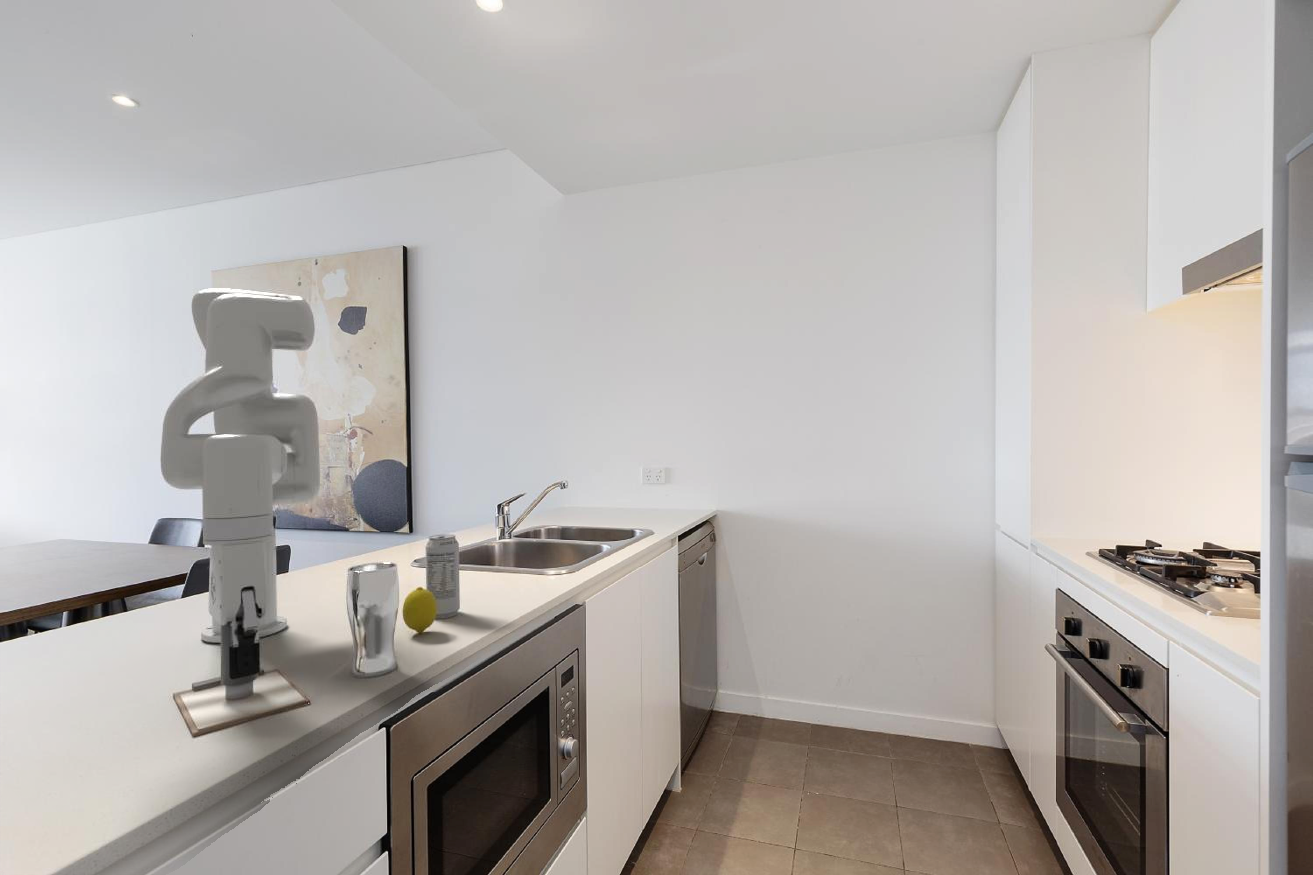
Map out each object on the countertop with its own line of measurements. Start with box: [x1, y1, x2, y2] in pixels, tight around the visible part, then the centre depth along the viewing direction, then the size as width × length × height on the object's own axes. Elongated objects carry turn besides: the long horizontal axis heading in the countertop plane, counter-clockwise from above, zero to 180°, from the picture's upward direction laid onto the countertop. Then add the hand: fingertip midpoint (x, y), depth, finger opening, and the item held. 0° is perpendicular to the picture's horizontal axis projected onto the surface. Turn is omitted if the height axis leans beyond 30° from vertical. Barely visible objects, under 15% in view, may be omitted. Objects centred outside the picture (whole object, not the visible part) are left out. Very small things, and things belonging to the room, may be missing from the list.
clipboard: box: [172, 666, 311, 738], centre depth 79 cm, size 16×12×1 cm
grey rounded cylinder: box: [220, 605, 259, 700], centre depth 79 cm, size 4×4×12 cm
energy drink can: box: [425, 534, 461, 619], centre depth 117 cm, size 6×6×15 cm
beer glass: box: [345, 561, 400, 679], centre depth 89 cm, size 7×7×15 cm
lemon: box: [402, 586, 437, 634], centre depth 106 cm, size 6×6×8 cm
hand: (240, 669), depth 79 cm, fingers closed on grey rounded cylinder, 4 cm apart
